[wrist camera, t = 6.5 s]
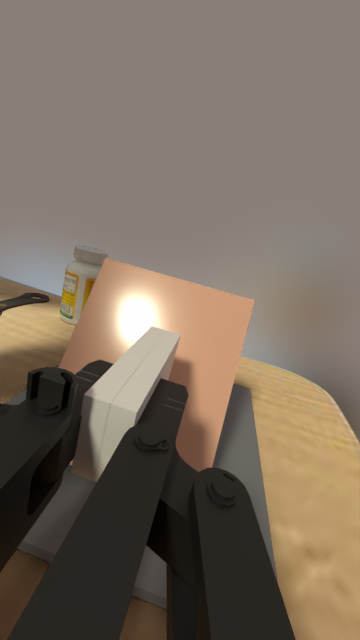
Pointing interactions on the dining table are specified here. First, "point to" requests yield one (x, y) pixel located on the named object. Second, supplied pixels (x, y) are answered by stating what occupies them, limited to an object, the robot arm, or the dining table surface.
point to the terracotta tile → (193, 348)
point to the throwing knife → (22, 301)
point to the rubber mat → (151, 583)
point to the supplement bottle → (80, 281)
